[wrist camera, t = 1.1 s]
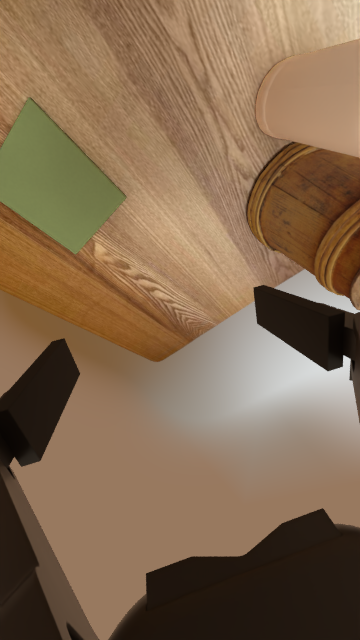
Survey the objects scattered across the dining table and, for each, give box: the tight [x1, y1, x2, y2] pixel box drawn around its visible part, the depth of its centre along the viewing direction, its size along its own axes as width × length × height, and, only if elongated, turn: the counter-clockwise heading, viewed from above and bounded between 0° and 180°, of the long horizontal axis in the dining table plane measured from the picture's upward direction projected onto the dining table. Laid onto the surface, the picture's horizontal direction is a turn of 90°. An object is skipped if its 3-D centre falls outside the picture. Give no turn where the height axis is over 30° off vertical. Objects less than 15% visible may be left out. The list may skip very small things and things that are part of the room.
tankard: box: [247, 142, 360, 310], centre depth 34 cm, size 18×24×25 cm
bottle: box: [255, 39, 360, 158], centre depth 21 cm, size 8×8×30 cm
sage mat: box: [0, 98, 126, 254], centre depth 34 cm, size 15×14×1 cm
